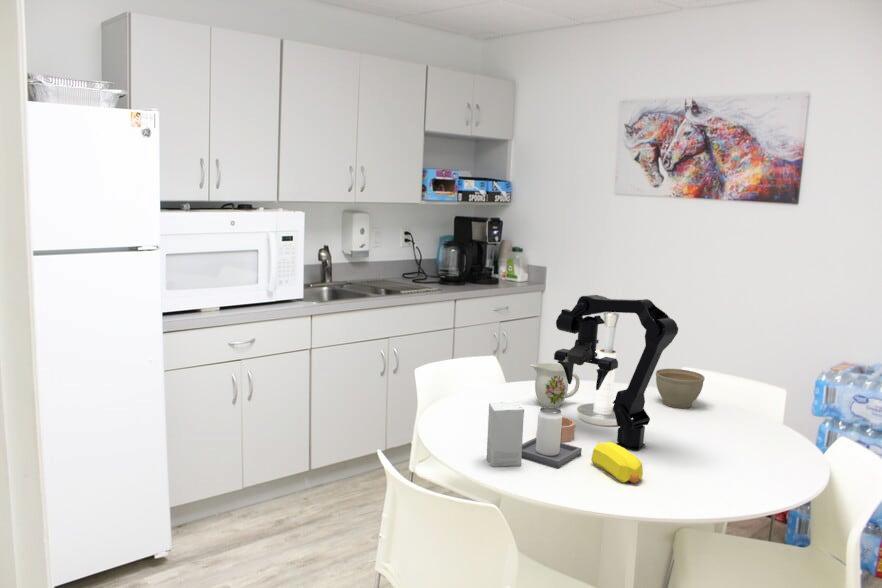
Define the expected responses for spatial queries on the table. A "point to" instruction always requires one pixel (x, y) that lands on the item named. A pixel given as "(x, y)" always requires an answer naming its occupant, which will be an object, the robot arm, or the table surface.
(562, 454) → the tray
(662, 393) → the planter bowl
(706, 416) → the table surface
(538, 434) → the can
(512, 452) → the skincare box
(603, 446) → the yellow faceted block
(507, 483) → the table surface
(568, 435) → the ring
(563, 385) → the pitcher
